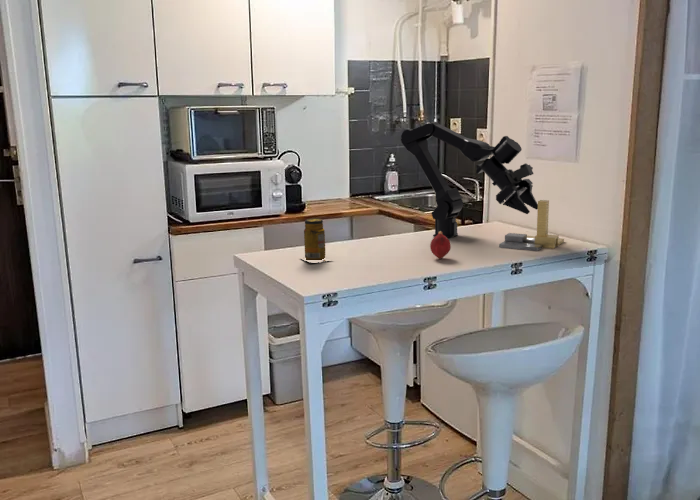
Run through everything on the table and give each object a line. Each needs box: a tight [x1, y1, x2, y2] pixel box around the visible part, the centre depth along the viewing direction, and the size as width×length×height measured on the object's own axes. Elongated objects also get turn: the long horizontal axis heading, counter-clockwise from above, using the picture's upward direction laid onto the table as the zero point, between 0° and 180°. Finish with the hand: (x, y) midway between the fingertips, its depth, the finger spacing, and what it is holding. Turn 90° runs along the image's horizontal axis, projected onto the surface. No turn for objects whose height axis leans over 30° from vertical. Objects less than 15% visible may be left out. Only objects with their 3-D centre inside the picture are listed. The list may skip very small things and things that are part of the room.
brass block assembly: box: [527, 199, 565, 249], centre depth 205 cm, size 12×11×14 cm
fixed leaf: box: [498, 232, 556, 252], centre depth 202 cm, size 15×9×3 cm, turn 58°
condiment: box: [303, 218, 326, 260], centre depth 193 cm, size 7×8×12 cm
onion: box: [429, 231, 452, 260], centre depth 190 cm, size 6×6×8 cm
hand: (533, 210), depth 202 cm, fingers open, 9 cm apart
